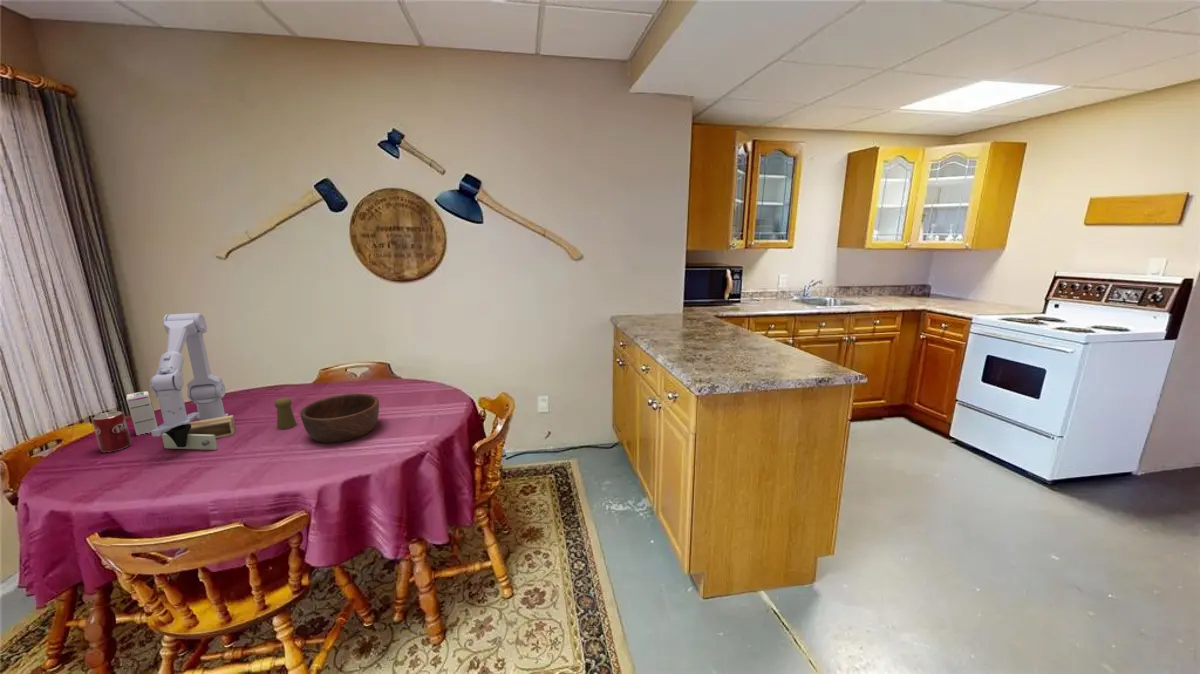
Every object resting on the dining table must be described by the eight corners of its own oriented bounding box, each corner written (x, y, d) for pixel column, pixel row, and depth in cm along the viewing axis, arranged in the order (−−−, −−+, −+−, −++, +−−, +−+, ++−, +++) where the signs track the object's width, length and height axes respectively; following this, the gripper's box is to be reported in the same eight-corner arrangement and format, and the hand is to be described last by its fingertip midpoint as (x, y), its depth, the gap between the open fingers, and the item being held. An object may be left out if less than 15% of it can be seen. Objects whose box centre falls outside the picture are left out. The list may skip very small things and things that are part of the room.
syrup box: (158, 431, 164) (149, 394, 161) (135, 436, 160) (126, 398, 156) (157, 426, 168) (148, 390, 164) (135, 431, 164) (125, 394, 160)
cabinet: (170, 440, 157) (167, 425, 156) (235, 428, 167) (233, 415, 165) (166, 447, 152) (162, 432, 151) (233, 434, 162) (230, 420, 161)
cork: (286, 430, 166) (282, 402, 163) (273, 428, 167) (268, 400, 165) (300, 423, 172) (296, 396, 169) (287, 422, 173) (282, 395, 170)
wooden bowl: (295, 431, 165) (291, 405, 163) (366, 412, 183) (363, 388, 181) (316, 454, 149) (312, 426, 146) (392, 431, 167) (389, 405, 164)
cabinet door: (167, 446, 152) (164, 433, 151) (217, 448, 151) (214, 434, 150) (161, 449, 150) (158, 436, 149) (211, 451, 149) (208, 437, 148)
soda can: (96, 455, 147) (86, 421, 144) (106, 445, 153) (98, 413, 150) (126, 450, 150) (117, 417, 147) (135, 441, 156) (127, 409, 153)
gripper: (162, 418, 139) (172, 457, 142) (204, 400, 153) (212, 437, 156) (141, 417, 139) (150, 457, 142) (185, 400, 153) (193, 436, 156)
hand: (181, 446), depth 149 cm, fingers closed
